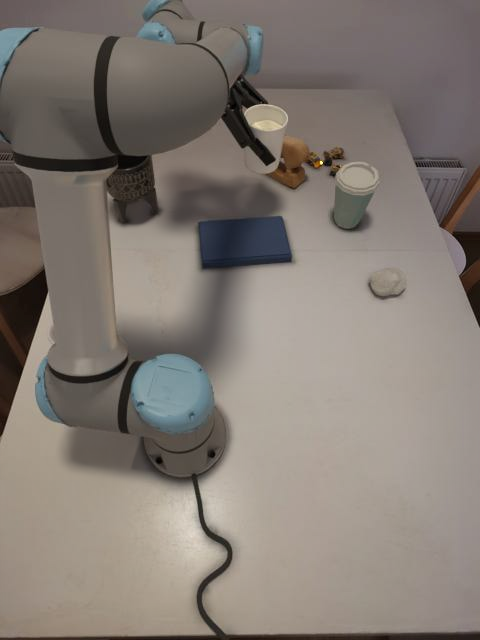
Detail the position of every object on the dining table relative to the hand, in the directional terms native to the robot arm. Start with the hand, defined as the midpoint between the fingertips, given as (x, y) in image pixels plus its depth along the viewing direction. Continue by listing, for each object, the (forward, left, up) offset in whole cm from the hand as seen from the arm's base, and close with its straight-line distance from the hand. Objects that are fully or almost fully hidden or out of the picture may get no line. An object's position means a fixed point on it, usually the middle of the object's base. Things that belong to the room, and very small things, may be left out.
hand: (276, 150), depth 100 cm
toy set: (+19, -21, -19) cm, 34 cm away
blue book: (-11, +9, -19) cm, 24 cm away
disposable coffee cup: (-5, -19, -19) cm, 28 cm away
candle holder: (+1, +3, -4) cm, 5 cm away
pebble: (-28, -23, -19) cm, 41 cm away
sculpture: (+16, -4, -19) cm, 25 cm away
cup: (-39, +48, -19) cm, 64 cm away
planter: (+4, +36, -19) cm, 40 cm away
